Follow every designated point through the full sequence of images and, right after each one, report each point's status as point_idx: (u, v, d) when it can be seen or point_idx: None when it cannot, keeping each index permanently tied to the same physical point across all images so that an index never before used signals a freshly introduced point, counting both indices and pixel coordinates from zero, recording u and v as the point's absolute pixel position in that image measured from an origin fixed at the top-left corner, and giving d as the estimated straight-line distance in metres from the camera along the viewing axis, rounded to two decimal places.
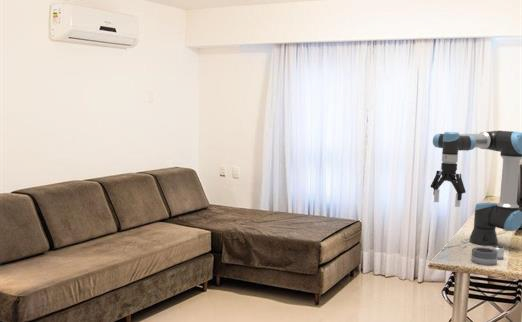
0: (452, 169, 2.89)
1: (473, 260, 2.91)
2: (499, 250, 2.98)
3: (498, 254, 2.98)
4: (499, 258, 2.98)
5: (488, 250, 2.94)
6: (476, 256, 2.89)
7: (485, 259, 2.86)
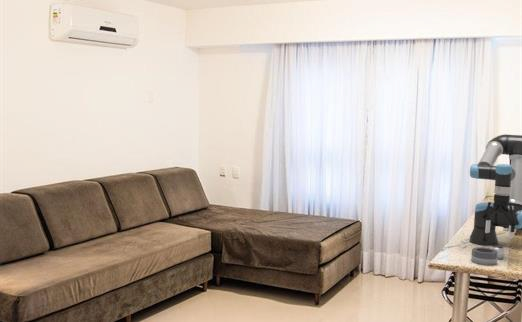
0: (505, 201, 2.94)
1: (473, 260, 2.91)
2: (499, 250, 2.98)
3: (498, 254, 2.98)
4: (499, 258, 2.98)
5: (488, 250, 2.94)
6: (476, 256, 2.89)
7: (485, 259, 2.86)
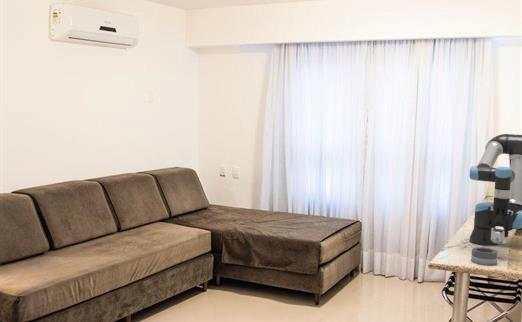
0: (505, 204, 2.94)
1: (473, 260, 2.91)
2: (500, 234, 2.97)
3: (499, 238, 2.97)
4: (500, 242, 2.98)
5: (488, 250, 2.94)
6: (476, 256, 2.89)
7: (485, 259, 2.86)
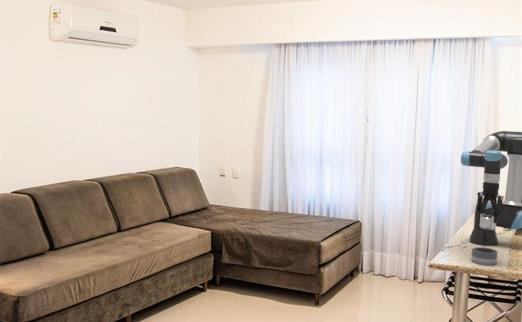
0: (494, 189, 2.86)
1: (473, 260, 2.91)
2: (489, 220, 2.88)
3: (488, 224, 2.88)
4: (489, 228, 2.88)
5: (488, 250, 2.94)
6: (476, 256, 2.89)
7: (485, 259, 2.86)
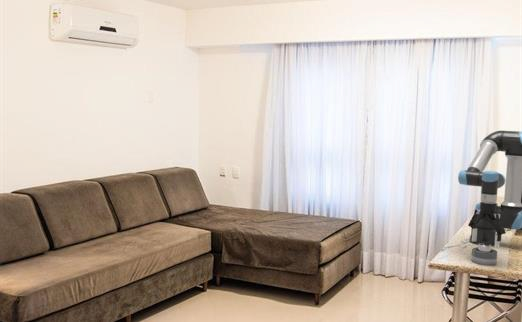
0: (491, 209, 2.86)
1: (473, 260, 2.91)
2: (486, 248, 2.89)
3: None
4: None
5: None
6: (476, 256, 2.89)
7: (485, 259, 2.86)
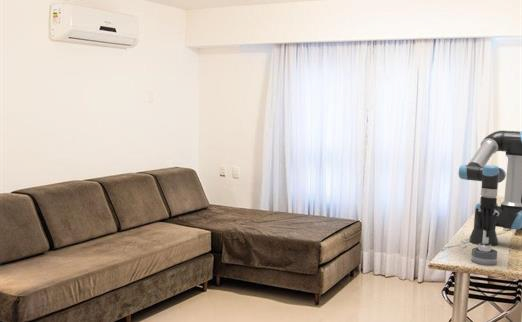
0: (492, 203, 2.86)
1: (473, 260, 2.91)
2: (486, 248, 2.89)
3: None
4: None
5: None
6: (476, 256, 2.89)
7: (485, 259, 2.86)
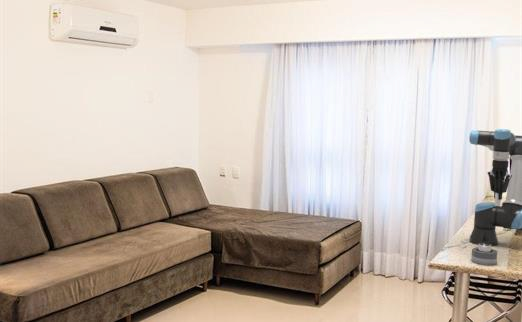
0: (504, 166, 2.92)
1: (473, 260, 2.91)
2: (486, 248, 2.89)
3: None
4: None
5: None
6: (476, 256, 2.89)
7: (485, 259, 2.86)
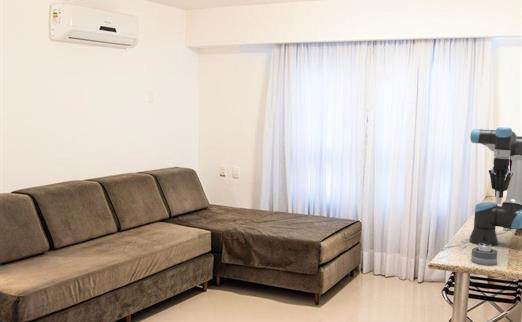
0: (505, 164, 2.92)
1: (473, 260, 2.91)
2: (486, 248, 2.89)
3: None
4: None
5: None
6: (476, 256, 2.89)
7: (485, 259, 2.86)
